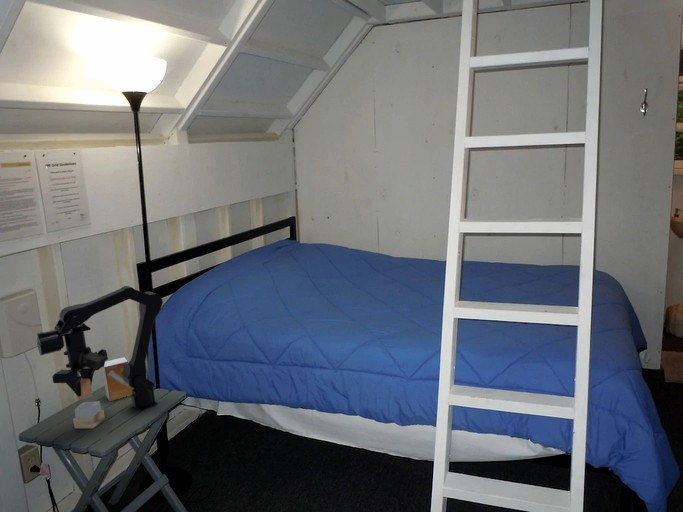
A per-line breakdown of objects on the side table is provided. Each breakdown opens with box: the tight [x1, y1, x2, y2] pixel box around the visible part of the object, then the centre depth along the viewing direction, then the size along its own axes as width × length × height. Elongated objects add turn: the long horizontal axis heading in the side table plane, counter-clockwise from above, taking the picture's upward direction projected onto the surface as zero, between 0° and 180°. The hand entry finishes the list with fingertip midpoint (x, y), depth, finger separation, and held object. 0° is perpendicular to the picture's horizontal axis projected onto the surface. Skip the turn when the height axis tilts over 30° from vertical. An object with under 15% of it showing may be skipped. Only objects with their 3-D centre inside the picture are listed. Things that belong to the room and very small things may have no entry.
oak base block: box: [72, 409, 106, 429], centre depth 178 cm, size 6×6×4 cm
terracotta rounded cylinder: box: [76, 378, 93, 400], centre depth 176 cm, size 4×4×5 cm
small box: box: [101, 356, 133, 402], centre depth 198 cm, size 8×6×13 cm
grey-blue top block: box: [74, 400, 102, 418], centre depth 177 cm, size 6×6×3 cm
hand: (84, 392), depth 176 cm, fingers closed on terracotta rounded cylinder, 4 cm apart
